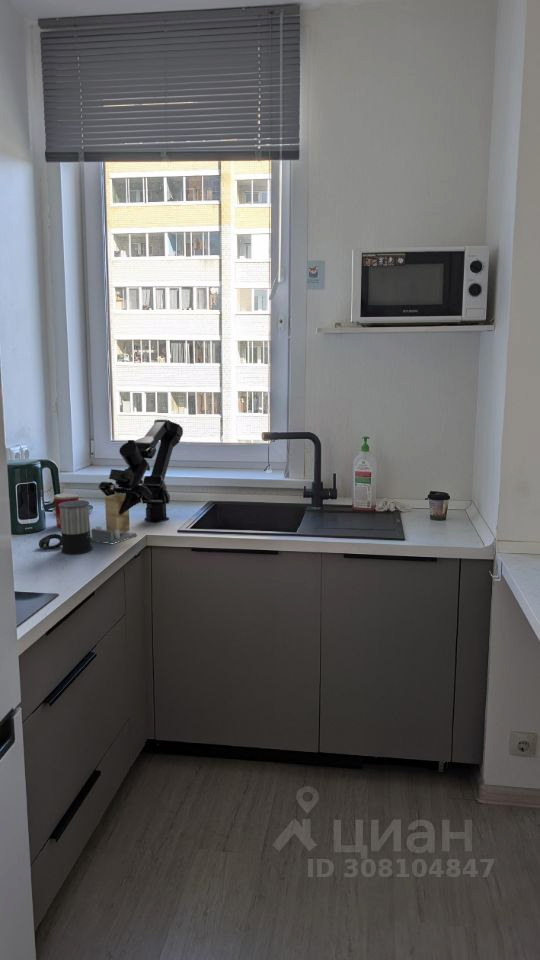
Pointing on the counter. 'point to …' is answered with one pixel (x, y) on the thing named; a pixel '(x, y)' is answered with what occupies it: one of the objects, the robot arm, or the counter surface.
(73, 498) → the canned food
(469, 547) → the counter surface
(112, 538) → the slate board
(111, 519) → the oak block
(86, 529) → the milk frother
